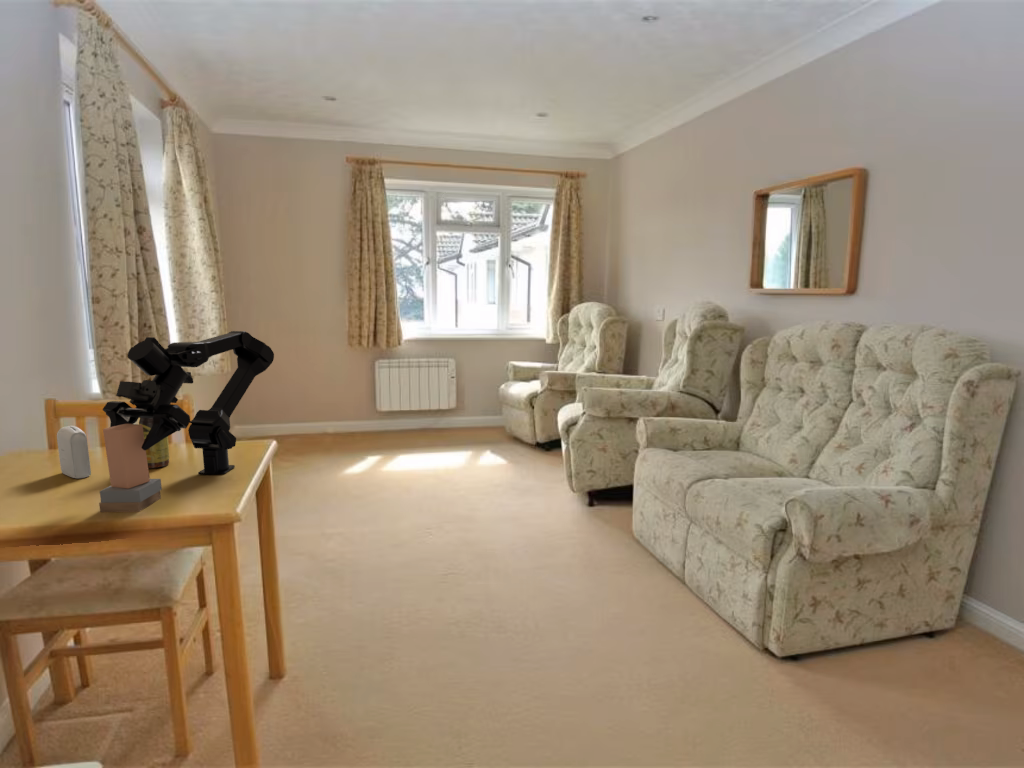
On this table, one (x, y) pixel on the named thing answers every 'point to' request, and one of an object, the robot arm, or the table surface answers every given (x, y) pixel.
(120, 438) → the terracotta pillar
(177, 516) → the table surface
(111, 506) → the walnut slab
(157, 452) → the sauce bottle
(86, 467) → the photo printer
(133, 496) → the slate slab
